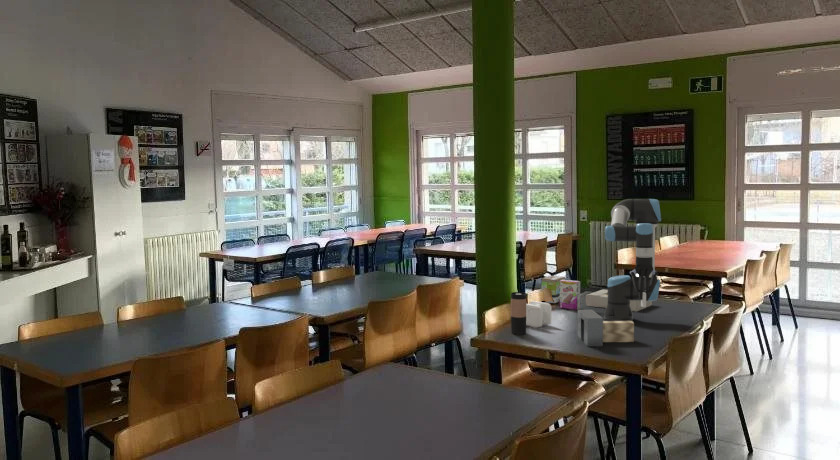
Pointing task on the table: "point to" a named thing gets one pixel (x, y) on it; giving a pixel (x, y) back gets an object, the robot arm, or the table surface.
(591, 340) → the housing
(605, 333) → the bar
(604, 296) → the box
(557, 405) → the table surface
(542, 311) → the cable organizer
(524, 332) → the travel mug
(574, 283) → the candy bar box
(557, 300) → the tea box
